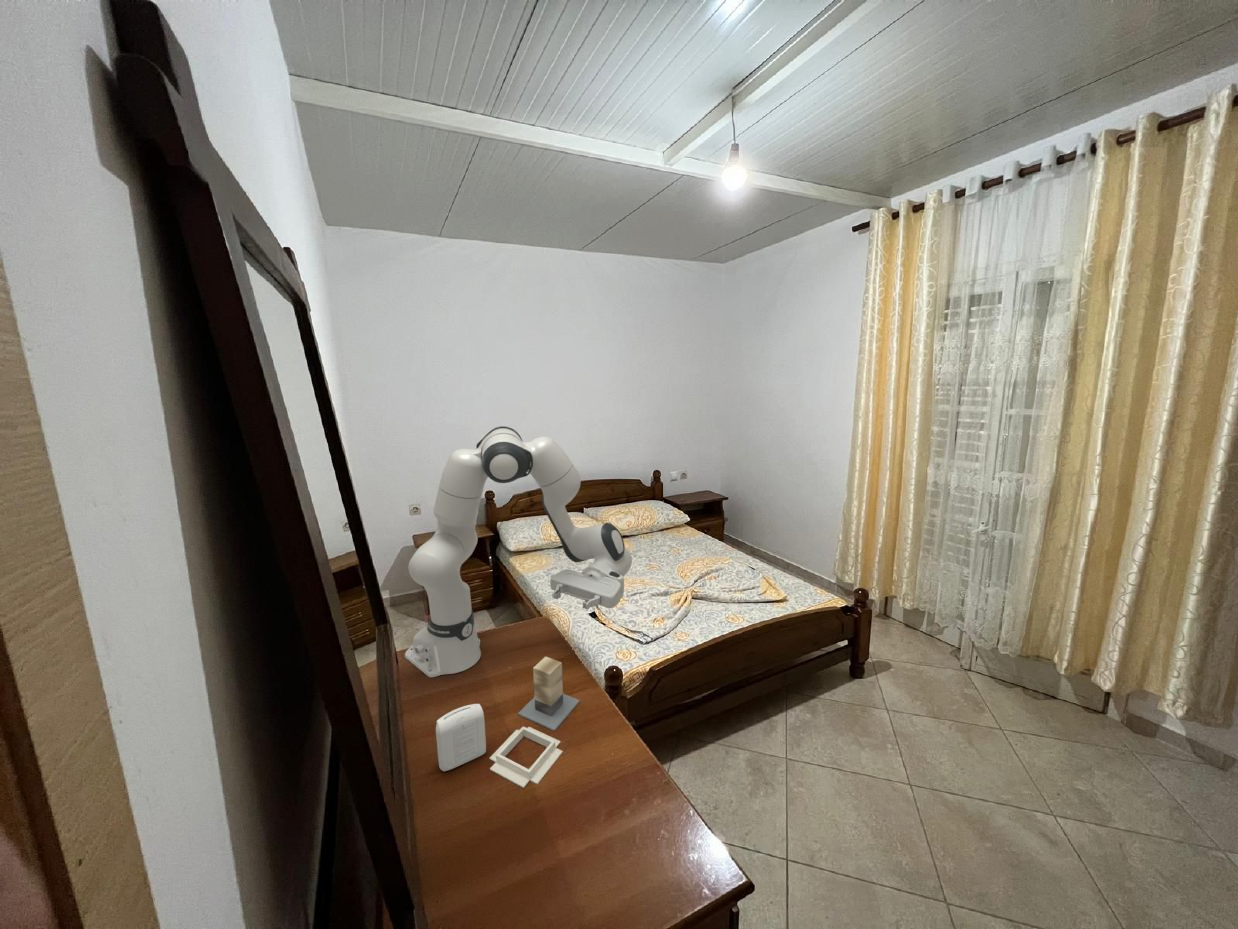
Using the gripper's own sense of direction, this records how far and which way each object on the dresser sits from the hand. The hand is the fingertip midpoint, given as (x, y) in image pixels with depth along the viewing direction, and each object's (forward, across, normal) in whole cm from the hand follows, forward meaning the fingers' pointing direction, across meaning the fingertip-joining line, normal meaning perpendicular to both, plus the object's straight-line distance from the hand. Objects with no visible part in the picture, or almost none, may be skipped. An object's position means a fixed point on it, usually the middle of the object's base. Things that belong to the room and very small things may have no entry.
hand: (569, 601), depth 122 cm
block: (+10, +1, +24) cm, 26 cm away
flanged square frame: (+24, +5, +25) cm, 35 cm away
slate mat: (+10, +1, +25) cm, 27 cm away
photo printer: (+31, -7, +25) cm, 41 cm away
